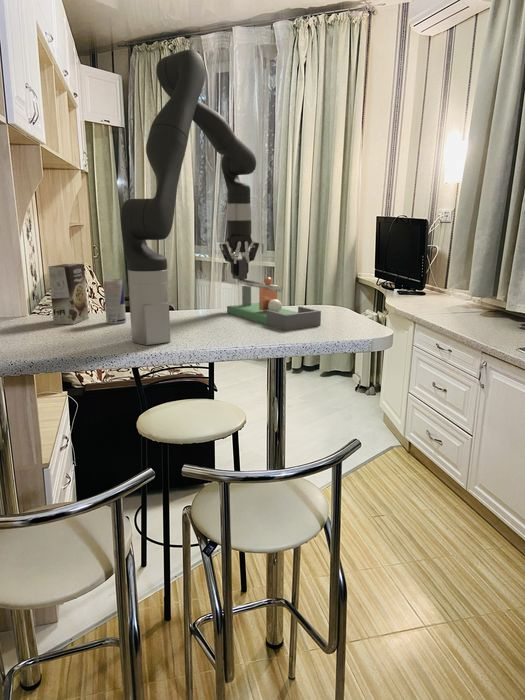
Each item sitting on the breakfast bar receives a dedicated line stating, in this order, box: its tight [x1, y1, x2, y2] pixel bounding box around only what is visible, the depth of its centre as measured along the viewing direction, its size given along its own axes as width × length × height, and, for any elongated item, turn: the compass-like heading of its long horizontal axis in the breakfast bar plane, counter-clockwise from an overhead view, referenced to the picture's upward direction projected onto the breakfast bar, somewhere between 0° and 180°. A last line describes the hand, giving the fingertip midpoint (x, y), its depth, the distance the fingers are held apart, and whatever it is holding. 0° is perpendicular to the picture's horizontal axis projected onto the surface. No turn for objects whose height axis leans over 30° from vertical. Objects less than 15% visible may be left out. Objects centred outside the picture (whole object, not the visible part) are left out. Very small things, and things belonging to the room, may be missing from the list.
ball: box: [268, 298, 283, 312], centre depth 152 cm, size 4×4×4 cm
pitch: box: [226, 285, 322, 331], centre depth 153 cm, size 31×12×8 cm, turn 34°
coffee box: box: [48, 263, 89, 325], centre depth 148 cm, size 9×6×16 cm
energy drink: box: [103, 278, 127, 325], centre depth 147 cm, size 5×5×12 cm
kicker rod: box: [232, 258, 283, 311], centre depth 158 cm, size 24×5×14 cm, turn 34°
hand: (239, 274), depth 165 cm, fingers closed on kicker rod, 3 cm apart
